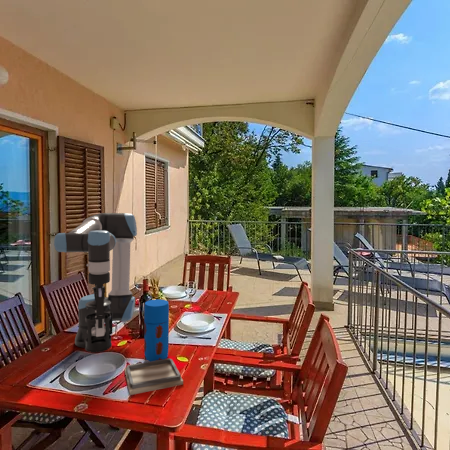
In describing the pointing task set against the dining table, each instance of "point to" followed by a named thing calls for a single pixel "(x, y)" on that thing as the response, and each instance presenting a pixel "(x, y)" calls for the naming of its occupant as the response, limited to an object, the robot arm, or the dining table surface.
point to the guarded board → (152, 376)
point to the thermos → (156, 329)
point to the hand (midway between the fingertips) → (99, 330)
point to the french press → (92, 340)
